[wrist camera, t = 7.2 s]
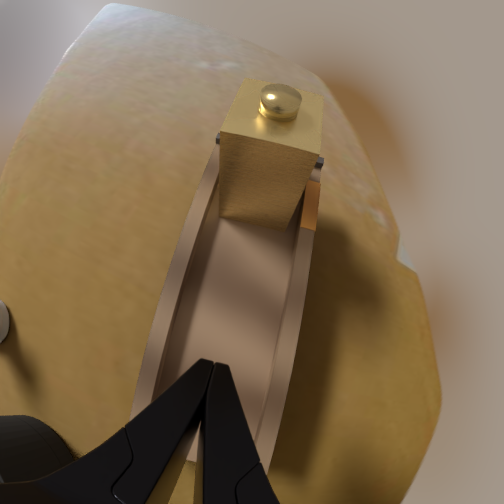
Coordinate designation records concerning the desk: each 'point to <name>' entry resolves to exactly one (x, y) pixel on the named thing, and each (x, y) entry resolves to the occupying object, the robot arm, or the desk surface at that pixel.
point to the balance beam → (233, 306)
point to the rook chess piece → (3, 321)
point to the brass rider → (268, 152)
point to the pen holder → (29, 449)
